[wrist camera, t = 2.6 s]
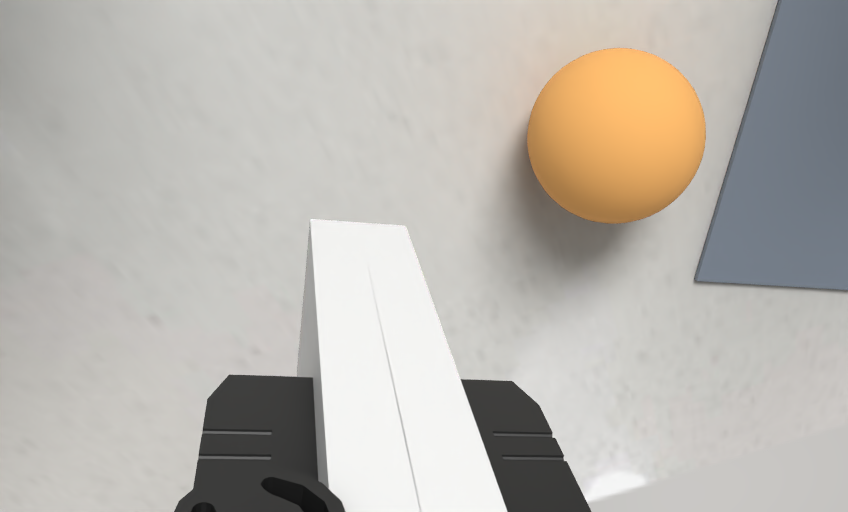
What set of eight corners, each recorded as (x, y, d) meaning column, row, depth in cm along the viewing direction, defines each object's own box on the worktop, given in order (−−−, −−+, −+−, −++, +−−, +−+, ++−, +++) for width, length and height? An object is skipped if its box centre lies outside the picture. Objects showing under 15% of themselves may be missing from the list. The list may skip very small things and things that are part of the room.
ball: (495, 183, 28) (540, 245, 23) (524, 25, 26) (580, 57, 21) (638, 195, 29) (709, 256, 24) (677, 44, 27) (764, 78, 22)
